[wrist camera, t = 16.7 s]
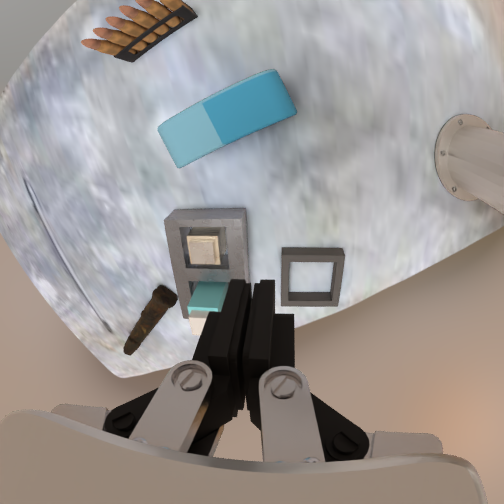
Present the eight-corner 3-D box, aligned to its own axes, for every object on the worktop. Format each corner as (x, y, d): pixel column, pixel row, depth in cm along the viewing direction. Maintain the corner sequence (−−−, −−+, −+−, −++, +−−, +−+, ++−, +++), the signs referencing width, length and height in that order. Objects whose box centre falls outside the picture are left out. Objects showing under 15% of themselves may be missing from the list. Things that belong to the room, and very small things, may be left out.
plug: (229, 272, 43) (215, 315, 34) (231, 294, 45) (219, 339, 36) (203, 272, 43) (183, 313, 34) (206, 293, 45) (189, 337, 36)
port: (245, 208, 38) (239, 222, 33) (250, 305, 45) (246, 328, 40) (174, 209, 39) (159, 224, 34) (190, 302, 46) (180, 323, 42)
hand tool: (161, 280, 45) (150, 296, 41) (180, 294, 46) (171, 312, 42) (121, 334, 53) (111, 349, 49) (137, 345, 54) (128, 361, 50)
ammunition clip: (132, 63, 30) (78, 53, 19) (126, 54, 29) (72, 42, 18) (198, 16, 26) (162, -17, 16) (191, 8, 26) (154, -26, 15)
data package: (206, 152, 35) (173, 172, 24) (191, 122, 33) (150, 129, 23) (293, 113, 32) (299, 113, 21) (278, 81, 30) (275, 65, 19)
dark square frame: (342, 248, 39) (344, 255, 37) (335, 297, 43) (337, 306, 41) (281, 247, 40) (281, 255, 38) (281, 297, 44) (280, 306, 42)
